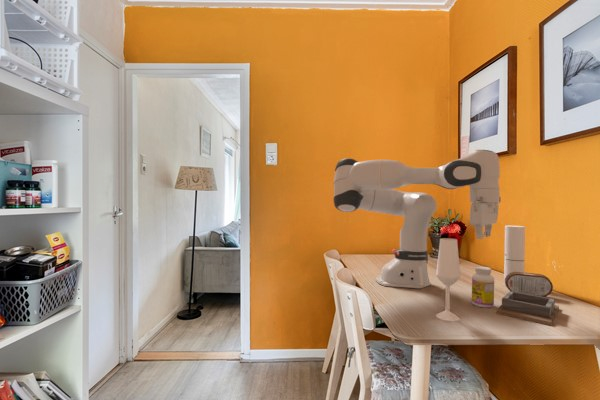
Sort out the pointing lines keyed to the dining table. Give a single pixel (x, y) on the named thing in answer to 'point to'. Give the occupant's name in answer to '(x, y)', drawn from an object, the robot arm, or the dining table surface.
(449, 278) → the champagne flute
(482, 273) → the supplement bottle
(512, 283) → the tin
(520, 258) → the cylindrical container
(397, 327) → the dining table surface
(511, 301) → the holder
